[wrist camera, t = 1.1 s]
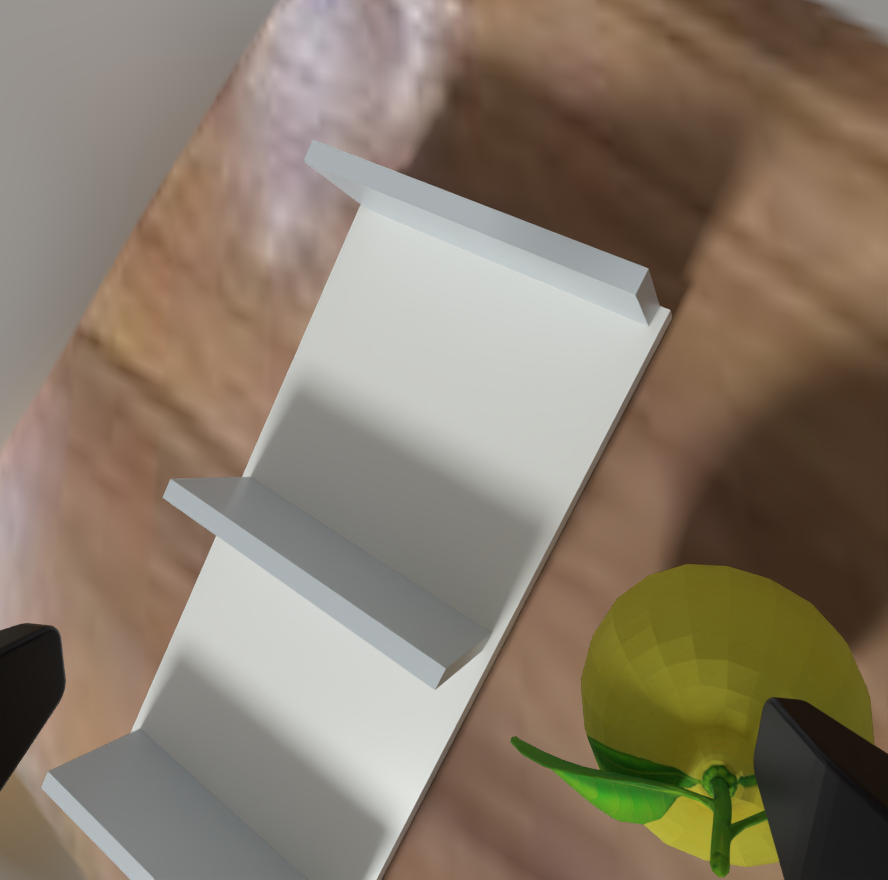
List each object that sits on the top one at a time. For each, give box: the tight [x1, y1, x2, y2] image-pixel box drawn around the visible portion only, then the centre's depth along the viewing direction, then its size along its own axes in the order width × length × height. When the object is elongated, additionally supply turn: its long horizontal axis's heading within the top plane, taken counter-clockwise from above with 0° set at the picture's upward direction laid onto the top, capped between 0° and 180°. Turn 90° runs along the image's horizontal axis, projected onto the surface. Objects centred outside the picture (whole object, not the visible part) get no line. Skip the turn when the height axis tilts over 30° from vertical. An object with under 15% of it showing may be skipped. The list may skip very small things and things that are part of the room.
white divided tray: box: [41, 140, 672, 880], centre depth 19 cm, size 10×21×4 cm, turn 153°
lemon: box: [510, 564, 874, 877], centre depth 13 cm, size 7×6×10 cm
